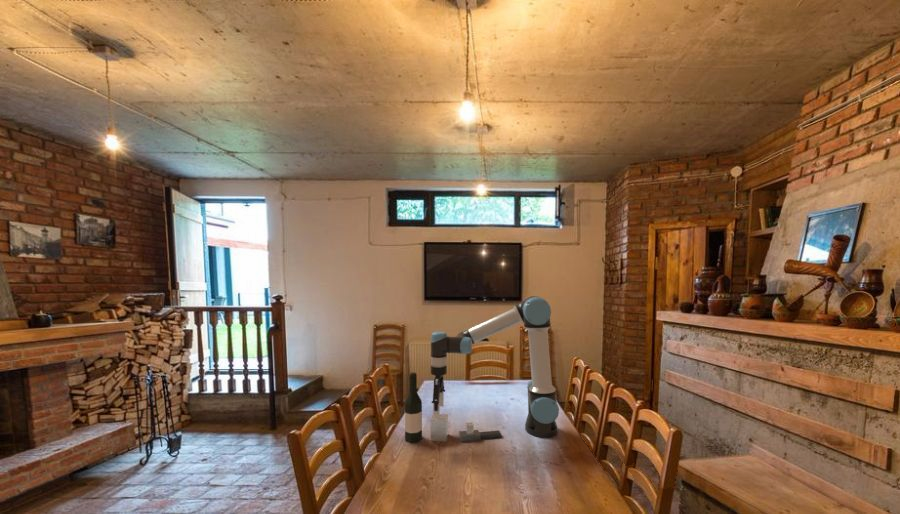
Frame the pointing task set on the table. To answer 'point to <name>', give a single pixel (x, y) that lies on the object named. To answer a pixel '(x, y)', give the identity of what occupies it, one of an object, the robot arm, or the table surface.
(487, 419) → the table surface
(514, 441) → the table surface
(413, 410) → the wine bottle
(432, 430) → the grey rectangular block
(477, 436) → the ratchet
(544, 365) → the robot arm
